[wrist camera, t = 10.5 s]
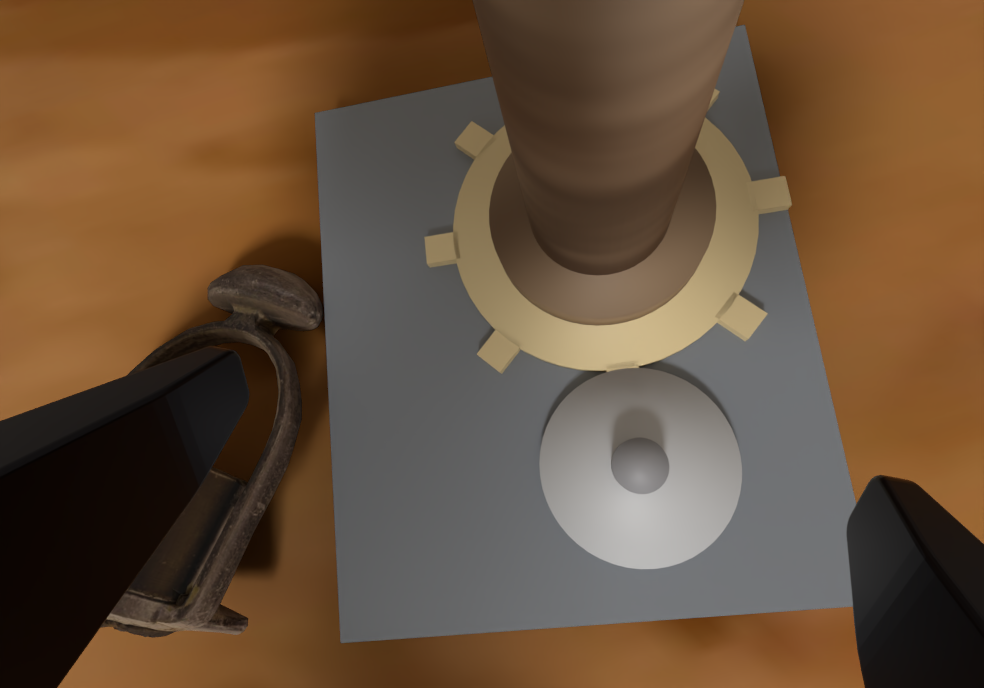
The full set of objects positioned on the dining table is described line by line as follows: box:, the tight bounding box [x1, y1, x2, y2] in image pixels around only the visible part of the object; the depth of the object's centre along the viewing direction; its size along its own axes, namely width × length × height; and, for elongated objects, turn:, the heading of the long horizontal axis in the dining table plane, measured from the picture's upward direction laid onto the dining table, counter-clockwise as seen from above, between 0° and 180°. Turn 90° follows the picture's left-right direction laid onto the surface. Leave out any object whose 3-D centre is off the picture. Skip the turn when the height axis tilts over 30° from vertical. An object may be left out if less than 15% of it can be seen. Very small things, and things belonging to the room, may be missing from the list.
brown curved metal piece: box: [100, 265, 323, 637], centre depth 19 cm, size 7×13×10 cm
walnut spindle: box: [473, 0, 744, 326], centre depth 13 cm, size 7×7×13 cm
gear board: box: [315, 25, 856, 643], centre depth 20 cm, size 19×16×3 cm
